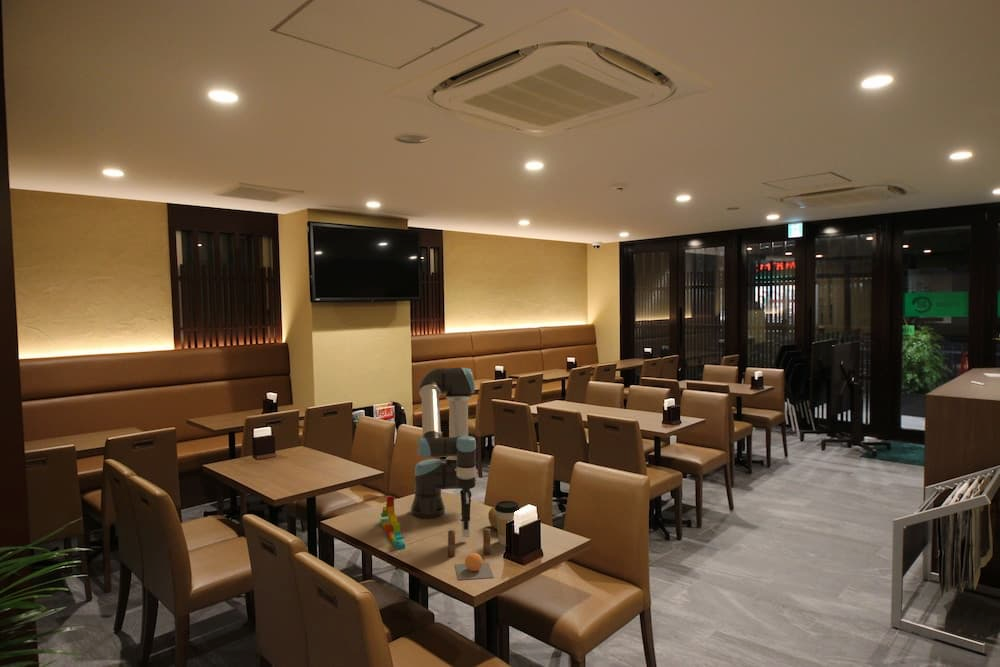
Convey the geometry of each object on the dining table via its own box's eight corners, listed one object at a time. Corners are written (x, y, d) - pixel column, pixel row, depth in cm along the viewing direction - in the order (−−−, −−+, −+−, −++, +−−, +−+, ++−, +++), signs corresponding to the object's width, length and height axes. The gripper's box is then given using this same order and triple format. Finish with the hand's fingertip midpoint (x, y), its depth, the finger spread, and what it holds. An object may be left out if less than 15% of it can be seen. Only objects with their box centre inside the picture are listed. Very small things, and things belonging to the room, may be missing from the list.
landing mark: (454, 564, 207) (454, 564, 207) (488, 562, 209) (488, 562, 209) (458, 580, 196) (458, 579, 196) (493, 577, 198) (493, 577, 198)
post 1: (447, 554, 216) (447, 530, 216) (454, 554, 217) (454, 530, 216) (448, 557, 214) (448, 533, 213) (455, 557, 214) (455, 532, 214)
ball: (466, 561, 199) (465, 575, 200) (483, 560, 200) (483, 574, 201) (464, 549, 204) (463, 563, 206) (481, 548, 205) (480, 562, 207)
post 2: (482, 552, 218) (483, 528, 218) (489, 552, 219) (489, 528, 219) (483, 555, 216) (484, 531, 216) (490, 554, 216) (490, 530, 216)
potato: (497, 536, 234) (497, 517, 234) (483, 525, 247) (483, 506, 247) (519, 533, 238) (519, 513, 238) (504, 521, 251) (504, 503, 251)
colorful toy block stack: (405, 549, 222) (405, 509, 221) (397, 550, 221) (397, 510, 220) (387, 522, 250) (388, 487, 249) (380, 523, 248) (380, 488, 248)
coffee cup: (522, 545, 226) (523, 506, 225) (498, 548, 223) (498, 509, 222) (515, 536, 235) (515, 499, 234) (491, 538, 232) (491, 501, 232)
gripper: (454, 472, 234) (454, 530, 235) (457, 481, 221) (457, 543, 222) (473, 471, 235) (472, 529, 236) (477, 481, 222) (477, 542, 223)
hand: (465, 536), depth 229 cm, fingers closed
